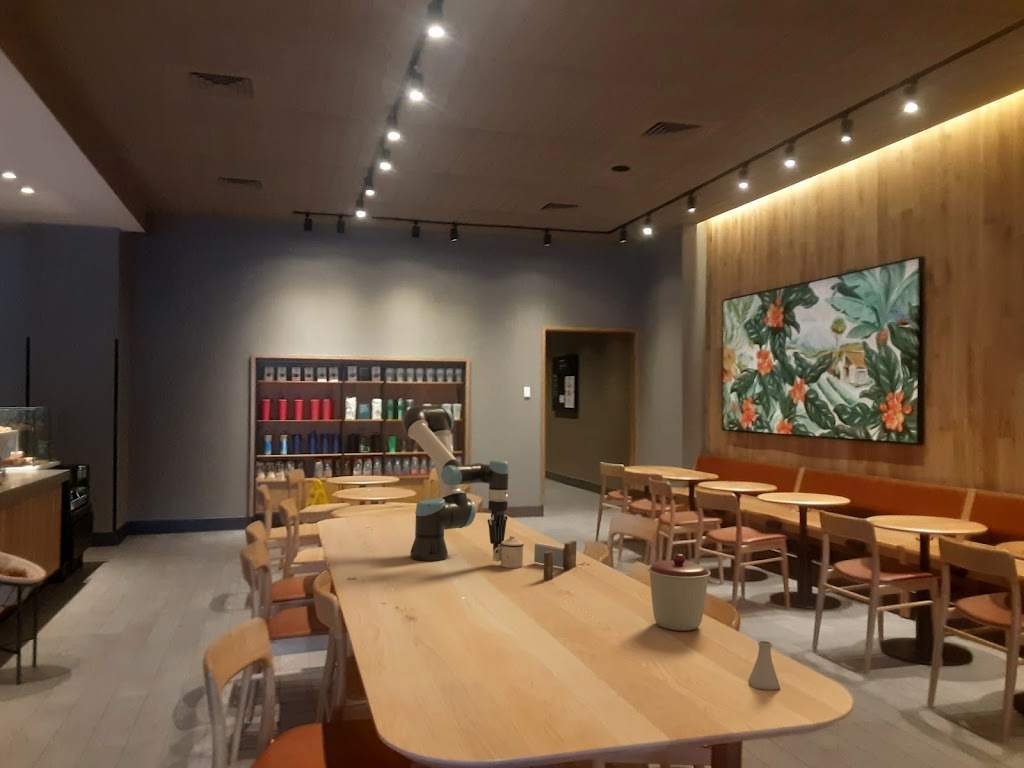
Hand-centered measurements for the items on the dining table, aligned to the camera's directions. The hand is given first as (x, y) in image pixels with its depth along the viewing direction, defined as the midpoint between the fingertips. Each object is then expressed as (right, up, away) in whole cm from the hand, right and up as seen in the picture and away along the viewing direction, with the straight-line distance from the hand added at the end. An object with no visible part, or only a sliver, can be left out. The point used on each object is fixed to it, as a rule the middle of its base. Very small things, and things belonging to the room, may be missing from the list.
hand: (496, 560), depth 298 cm
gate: (+21, -2, 0) cm, 21 cm away
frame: (+24, -2, -11) cm, 27 cm away
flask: (+65, -2, -120) cm, 136 cm away
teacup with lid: (+4, -2, -2) cm, 5 cm away
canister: (+55, -2, -75) cm, 93 cm away
